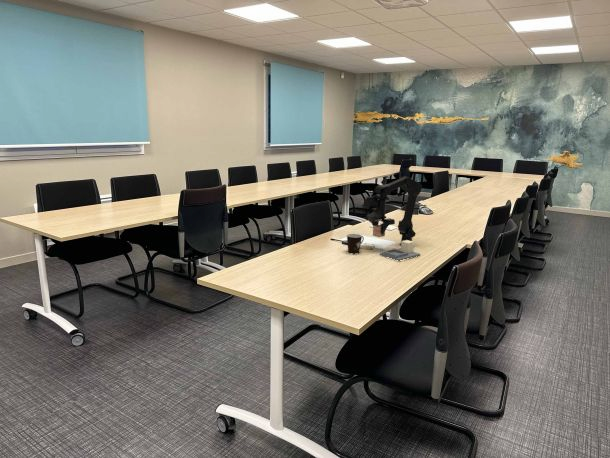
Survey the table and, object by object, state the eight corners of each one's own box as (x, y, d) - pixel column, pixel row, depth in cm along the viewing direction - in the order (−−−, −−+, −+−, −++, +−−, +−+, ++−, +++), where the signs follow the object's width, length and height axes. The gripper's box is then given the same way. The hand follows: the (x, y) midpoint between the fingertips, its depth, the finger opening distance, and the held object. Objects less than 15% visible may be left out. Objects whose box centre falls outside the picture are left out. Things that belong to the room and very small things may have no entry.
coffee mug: (349, 254, 240) (350, 237, 238) (344, 250, 248) (344, 234, 246) (368, 253, 243) (369, 236, 241) (362, 249, 251) (363, 233, 249)
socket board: (400, 250, 251) (401, 238, 249) (420, 256, 240) (421, 243, 238) (379, 255, 240) (380, 242, 238) (398, 261, 229) (399, 248, 228)
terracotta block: (378, 234, 253) (379, 224, 252) (384, 236, 249) (385, 226, 248) (372, 235, 250) (373, 225, 249) (378, 237, 246) (379, 227, 245)
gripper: (359, 206, 248) (357, 232, 252) (382, 211, 234) (380, 239, 238) (372, 204, 255) (371, 229, 259) (396, 209, 240) (394, 236, 244)
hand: (378, 233), depth 250 cm, fingers closed on terracotta block, 5 cm apart
